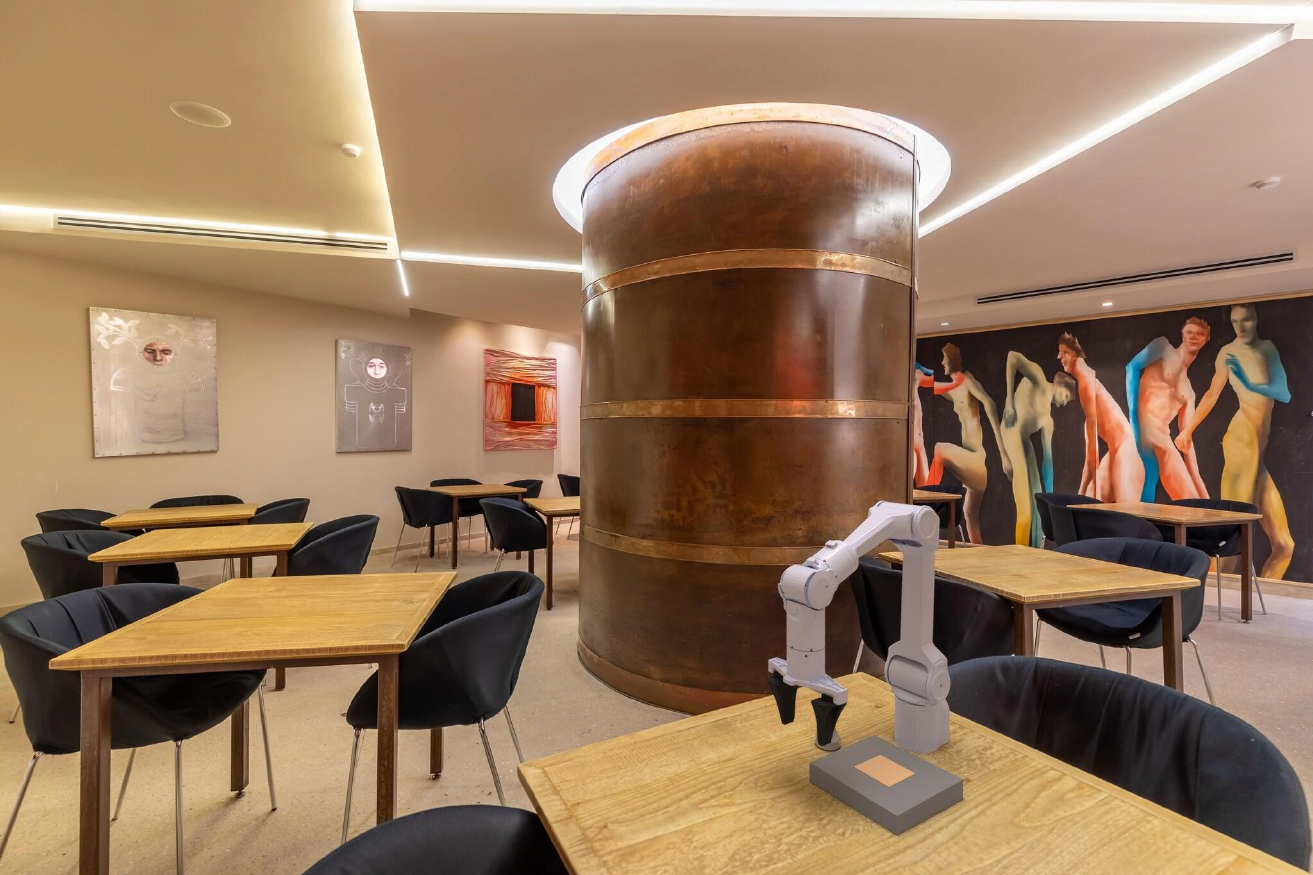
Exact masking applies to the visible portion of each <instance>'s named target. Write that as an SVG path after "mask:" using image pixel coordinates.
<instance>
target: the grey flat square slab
mask: <svg viewBox="0 0 1313 875" xmlns="http://www.w3.org/2000/svg"><path fill="white" fill-rule="evenodd" d="M808 769H809V770H808V771H809V772H808V773H809V782H810V783H811V784H813V785H815V786H817V787H818V788H819V789H821V790H823V791H825V792H826V793H828V794H829V795H831V796H832V797H834V798H836V799H837V800H839V801H841V802H842V803H843V804H845V805H847V806H849V807H850V808H851V809H854V810H855V811H857V812H858V813H860V814H862V815H863V816H865V817H866V818H867V819H870V820H871V821H873V822H874V823H876V824H877V825H879V826H881V827H882V828H884V829H885V830H887V831H889V832H890V833H892V834H894V835H895V836H899V835H901V834H902V833H904V832H906V831H909V830H910V829H912V828H914V827H916V826H917V825H919V824H921V823H923V822H925V821H927V820H929V819H930V818H932V817H935V816H936V815H938V814H940V813H941V812H943V811H945V810H947V809H948V808H950V807H952V806H953V805H956V804H957V803H959V802H960V801H962V800H963V799H964V778H961V777H959V776H957V775H955V774H953V773H952V772H949V771H947V770H945V769H944V768H941V767H940V766H937V765H935V764H933V763H932V762H929V761H927V760H926V759H924V758H921V757H919V756H918V755H915V754H913V752H912V753H911V751H910V752H909V750H906V749H904V748H902V747H901V746H899V745H897V744H896V745H895V744H894V743H891V741H888V740H886V739H885V738H882V737H880V736H878V735H876V734H873V735H871V736H868V737H865V738H864V739H862V740H859V741H857V742H855V743H852V744H850V745H848V746H845V747H842V748H840V749H837V750H834V751H832V752H830V753H828V754H826V755H824V756H822V757H819V758H817V759H813V760H812V761H810V762H809V768H808Z"/></svg>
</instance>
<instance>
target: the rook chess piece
mask: <svg viewBox="0 0 1313 875" xmlns="http://www.w3.org/2000/svg"><path fill="white" fill-rule="evenodd" d="M814 742H815V745H816V746H817V748H819V749H821V750H823V751H828V752H830V751H831V752H835V751H838V750H839V748H840V747H841V745H842V743H841V736H840V734H839V732H838V729H837V727H836V726H835V729H834V732H833V736H832V740H831V743H830V744H827V745H825V746H820V745H818V740H817V731H816V733H815V739H814Z"/></svg>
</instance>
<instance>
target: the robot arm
mask: <svg viewBox="0 0 1313 875" xmlns="http://www.w3.org/2000/svg"><path fill="white" fill-rule="evenodd" d="M867 514H868V515H867V518H866V519H865V520H864V521H863V522H862V523H861V524H859V525H858V527H857V528H856V529H854V531H853V532H851V534H849V535H848V536H847V537H846V538H845V539H844V540H839V539H836V540H830V539H829V540H828V541H826V542H825V544H824V547H822V548H821V549H820V550H819V551H817V552H816V553H815V554H813V555H811V556H809V557H808V558H807V559H806V560H805V561H804V562H803V563H802V564H801V565H800V564H794V565H791V566H789V567H788V568H787V569H785V570H784V571H783V573H782V574H781V577H780V581H779V583H777V589H778V594H779V595H780V597H781V598H782V601H783V609H784V610H785V611H784V612H786V660H785V659H783V658H779V657H774V658H773V657H772V658H770V659H768V661H767V663H768V665H767V666H768V667H767V668H768V669H767V670H768V672H769V673H771V674H772V676H770V677H768V678H767V680H766V682H767V685H768V687H769V689H770V691H771V693H772V695H773V697H774V700H775V703H776V706H777V710H778V713H779V718H780V722H781V724H782V725H784V726H786V725H788V724H792V723H794V722H795V717H796V700H797V695H798V694H797V693H798V689H799V687H803V688H806V689H809V690H811V691H814V692H816V693H818V694H820V695H821V696H820V697H818V698H814V699H812V700H810V705H811V707H812V709H813V713H814V717H815V722H816V732H817V740H818V745H820V746H825V745H827V744H830V743H831V740H832V736H833V732H834V729H835V726H836V725H837V723H838V720H839V718H840V716H841V714H842V713H843V711H844V709H845V708H846V705H847V704H848V701H849V699H848V698H849V697H848V695H849V694H848V693H849V691H848V688H847V687H844V686H842V685H841V684H839V683H838V682H837V681H836V680H835V679H833V678H832V677H831V676H830V675H828V674H827V673H826V607H828V606H829V605H830V603H831V602H832V600H833V598H834V595H835V592H836V591H837V590H838V587H839V585H840V584H841V583H842V582H843V581H844V580H846V579H847V578H848V577H849V576H851V575H852V574H853V573H854V572H855V571H857V570H858V567H859V559H860V558H861V557H863V555H866V553H868V552H870V551H871V550H872V549H874V548H875V547H877V546H878V545H880V544H882V543H883V542H884V541H889V542H890V543H892V544H893V545H894V546H895V547H896V548H897V549H898V550H899V551H900V553H902V576H901V577H902V582H901V609H900V610H901V611H900V612H901V613H900V640H898V641H896V642H894V643H893V644H891V645H890V646H889V647H888V653H887V654H888V655H887V658H886V661H885V663H884V664H885V665H884V670H883V673H884V678H885V681H886V683H887V684H888V685H889V686H890V688H891V689H890V691H891V693H893V694H894V741H895V744H896V745H897V746H898V747H900V748H902V749H904V750H906V751H908V752H909V751H910V752H912V753H913V752H914V753H916V754H917V753H918V754H932V753H935V752H936V751H938V749H939V748H940V747H941V746H943V745H945V744H947V743H949V742H950V718H951V717H950V712H951V711H950V707H949V704H948V702H947V700H946V698H947V696H948V695H949V692H950V689H951V678H950V674H949V670H948V669H949V668H948V659H947V657H946V656H945V655H944V654H943V653H942V652H941V651H940V649H938V647H936V646H935V644H934V643H933V637H934V636H933V635H934V633H933V632H934V630H933V629H934V605H935V604H934V603H935V601H934V599H935V574H936V573H935V569H936V567H935V566H936V565H935V564H936V552H938V551H939V549H940V548H939V547H940V546H939V544H940V543H939V542H940V517H939V515H938V514H937V513H936V511H935V510H934V509H933V508H932V507H931V506H928V505H914V504H907V503H897V502H890V501H885V500H880V501H878V502H877V503H875V505H873V506H872V507H870V508H869V509H868V513H867Z"/></svg>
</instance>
